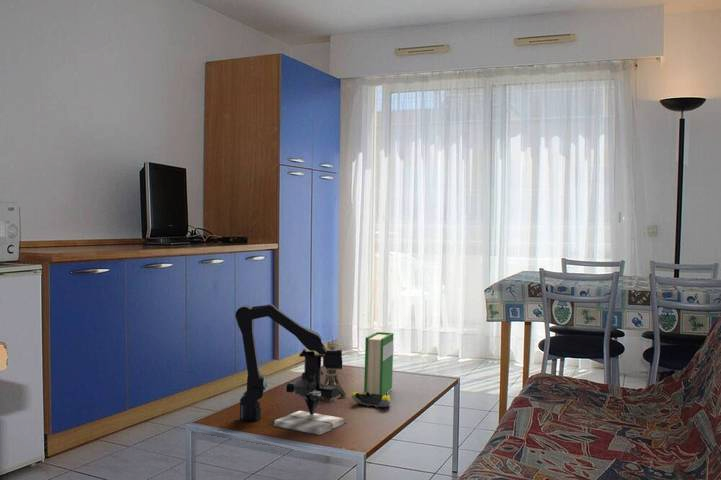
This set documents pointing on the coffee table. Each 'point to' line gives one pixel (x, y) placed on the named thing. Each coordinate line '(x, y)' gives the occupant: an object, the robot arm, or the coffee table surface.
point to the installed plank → (303, 425)
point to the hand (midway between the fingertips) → (311, 414)
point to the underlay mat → (313, 433)
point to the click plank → (319, 418)
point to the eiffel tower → (331, 375)
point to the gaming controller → (371, 399)
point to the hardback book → (378, 363)
